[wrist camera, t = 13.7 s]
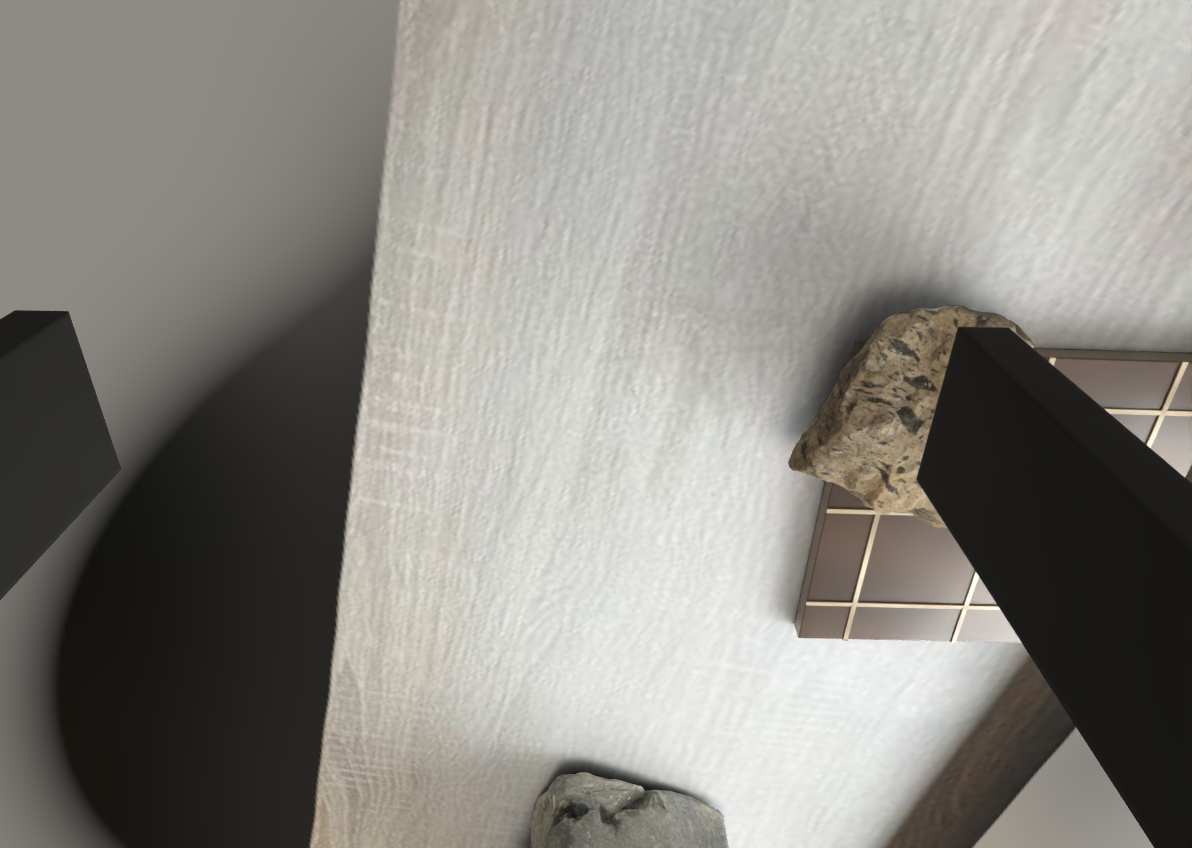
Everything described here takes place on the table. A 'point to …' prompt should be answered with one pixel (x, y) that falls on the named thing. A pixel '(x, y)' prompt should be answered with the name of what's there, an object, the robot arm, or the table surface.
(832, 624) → the grid board
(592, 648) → the table surface
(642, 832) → the grey broken concrete chunk
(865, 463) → the rock
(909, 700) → the table surface
